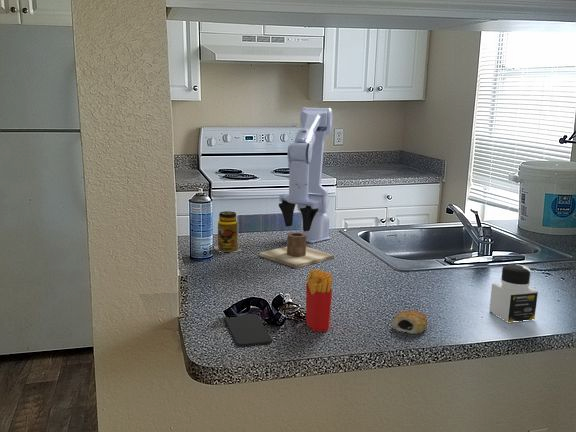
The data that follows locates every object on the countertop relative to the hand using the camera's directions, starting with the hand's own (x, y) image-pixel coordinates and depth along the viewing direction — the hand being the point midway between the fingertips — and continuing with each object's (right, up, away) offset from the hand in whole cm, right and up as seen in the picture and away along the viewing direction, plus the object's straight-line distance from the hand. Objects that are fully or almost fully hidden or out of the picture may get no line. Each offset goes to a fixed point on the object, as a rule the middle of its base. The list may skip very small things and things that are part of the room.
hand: (297, 228), depth 171 cm
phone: (-11, -21, -52) cm, 57 cm away
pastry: (+23, -21, -48) cm, 57 cm away
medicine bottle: (+48, -20, -40) cm, 66 cm away
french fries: (+4, -20, -49) cm, 53 cm away
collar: (0, -8, +2) cm, 8 cm away
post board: (0, -9, +2) cm, 9 cm away
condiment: (-22, -7, +8) cm, 25 cm away
